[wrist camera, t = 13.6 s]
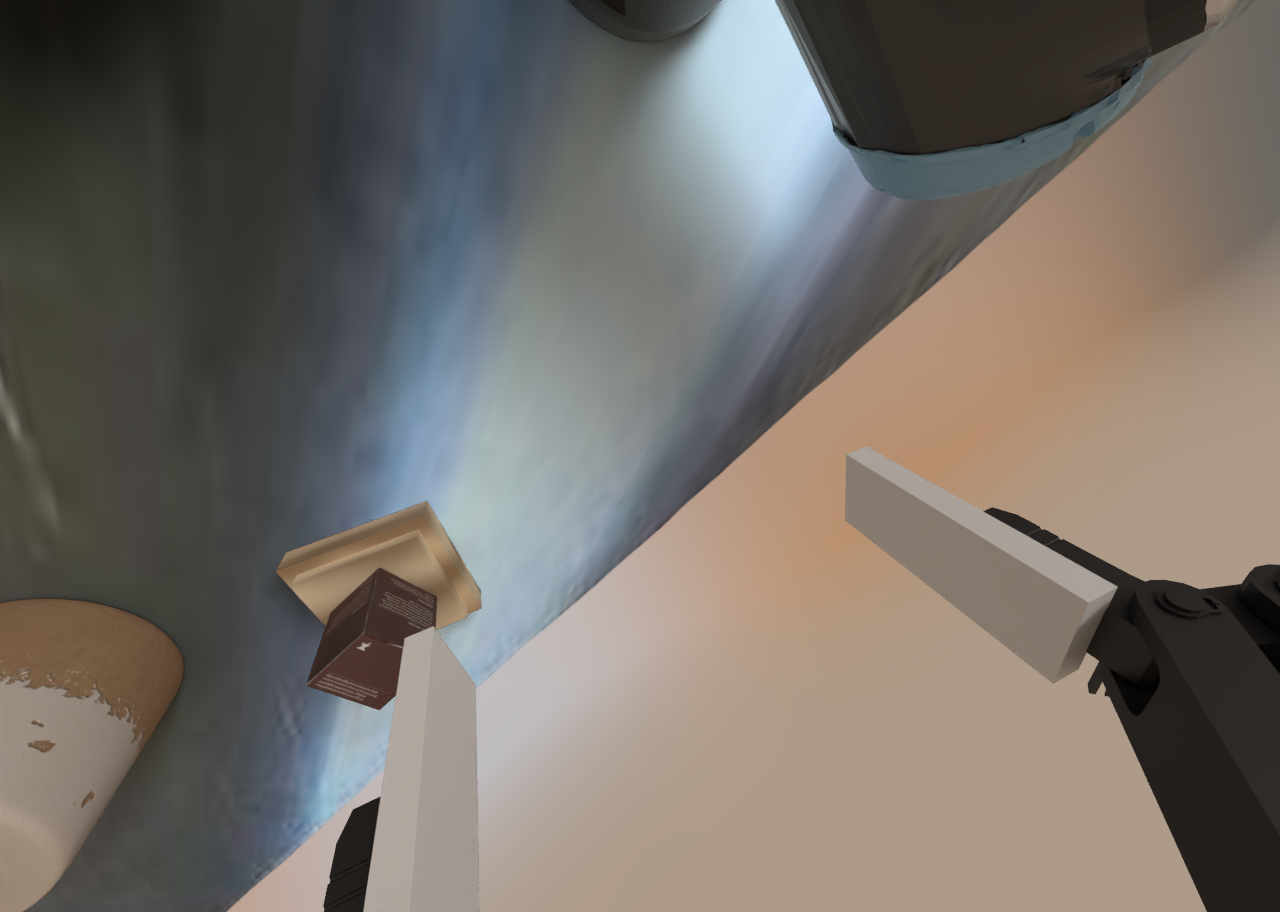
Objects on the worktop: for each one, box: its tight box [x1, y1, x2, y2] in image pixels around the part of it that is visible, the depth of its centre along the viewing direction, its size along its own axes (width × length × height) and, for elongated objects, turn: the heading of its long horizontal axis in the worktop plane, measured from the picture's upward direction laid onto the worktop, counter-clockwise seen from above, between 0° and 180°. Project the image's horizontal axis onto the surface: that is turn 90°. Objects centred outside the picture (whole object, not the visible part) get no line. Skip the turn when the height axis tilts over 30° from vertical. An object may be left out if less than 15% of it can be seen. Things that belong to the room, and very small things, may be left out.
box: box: [306, 568, 437, 710], centre depth 36 cm, size 6×6×7 cm
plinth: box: [276, 501, 481, 630], centre depth 41 cm, size 12×12×4 cm
